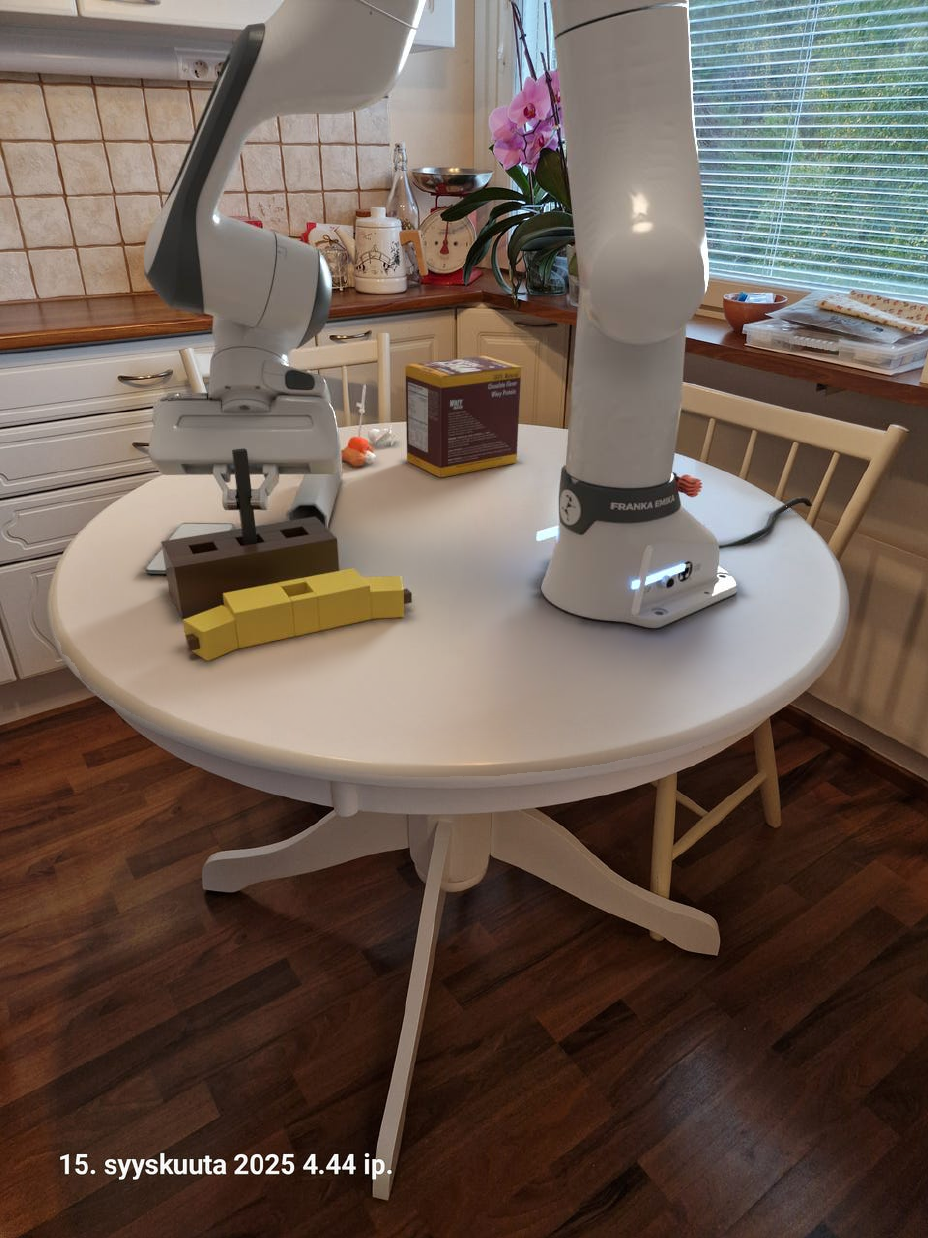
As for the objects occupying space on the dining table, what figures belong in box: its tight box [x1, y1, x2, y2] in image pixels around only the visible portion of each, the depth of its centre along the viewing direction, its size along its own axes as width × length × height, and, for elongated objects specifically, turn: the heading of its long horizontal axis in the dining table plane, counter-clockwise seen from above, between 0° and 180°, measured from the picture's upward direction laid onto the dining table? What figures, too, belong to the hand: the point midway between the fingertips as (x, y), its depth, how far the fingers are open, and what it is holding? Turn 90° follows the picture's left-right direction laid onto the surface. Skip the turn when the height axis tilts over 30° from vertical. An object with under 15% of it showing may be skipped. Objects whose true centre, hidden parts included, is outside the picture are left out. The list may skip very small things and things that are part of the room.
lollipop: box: [341, 384, 376, 467], centre depth 132 cm, size 6×10×12 cm, turn 177°
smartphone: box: [144, 522, 235, 575], centre depth 101 cm, size 7×1×15 cm
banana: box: [182, 567, 413, 662], centre depth 84 cm, size 6×23×4 cm, turn 118°
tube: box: [285, 465, 343, 530], centre depth 114 cm, size 5×5×25 cm
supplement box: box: [404, 355, 522, 478], centre depth 131 cm, size 10×15×16 cm
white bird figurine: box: [367, 422, 397, 447], centre depth 142 cm, size 8×5×5 cm, turn 177°
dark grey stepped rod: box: [232, 448, 257, 546], centre depth 88 cm, size 2×1×16 cm, turn 118°
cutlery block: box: [160, 517, 340, 620], centre depth 90 cm, size 7×17×6 cm, turn 118°
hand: (245, 508), depth 87 cm, fingers closed on dark grey stepped rod, 1 cm apart
